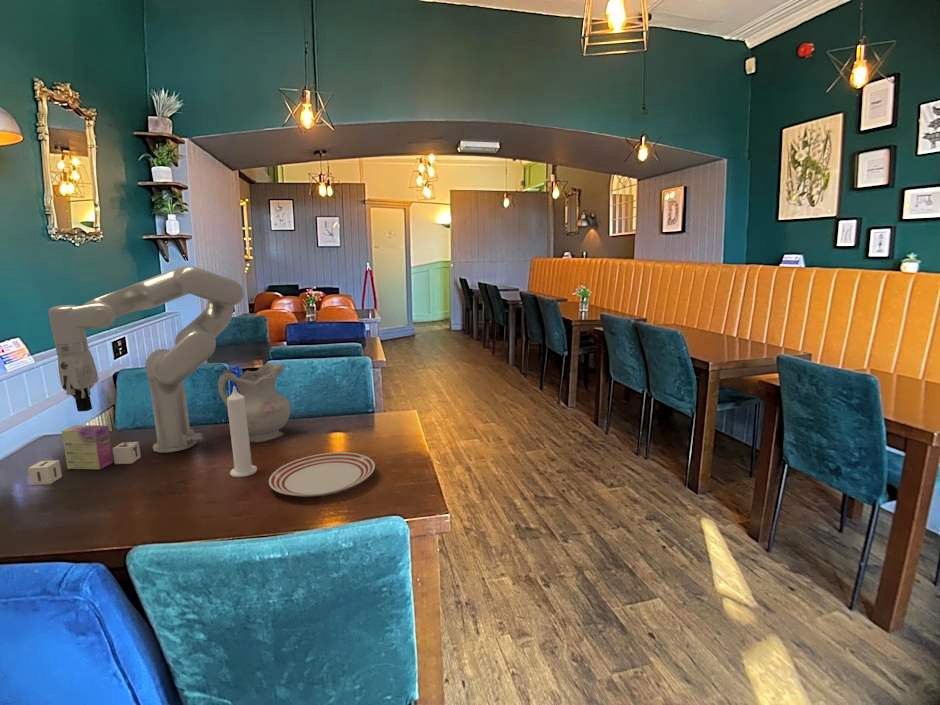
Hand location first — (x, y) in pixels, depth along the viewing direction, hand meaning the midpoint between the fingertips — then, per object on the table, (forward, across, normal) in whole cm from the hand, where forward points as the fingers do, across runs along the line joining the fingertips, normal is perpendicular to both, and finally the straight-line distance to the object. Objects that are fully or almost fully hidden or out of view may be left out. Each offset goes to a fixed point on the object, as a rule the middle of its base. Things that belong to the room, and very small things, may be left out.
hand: (85, 410), depth 162 cm
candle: (+18, -12, -47) cm, 52 cm away
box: (+17, -1, +1) cm, 17 cm away
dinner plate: (+19, -21, -71) cm, 76 cm away
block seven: (+17, +2, -8) cm, 19 cm away
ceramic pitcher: (+18, +18, -42) cm, 49 cm away
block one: (+17, -11, +7) cm, 21 cm away
